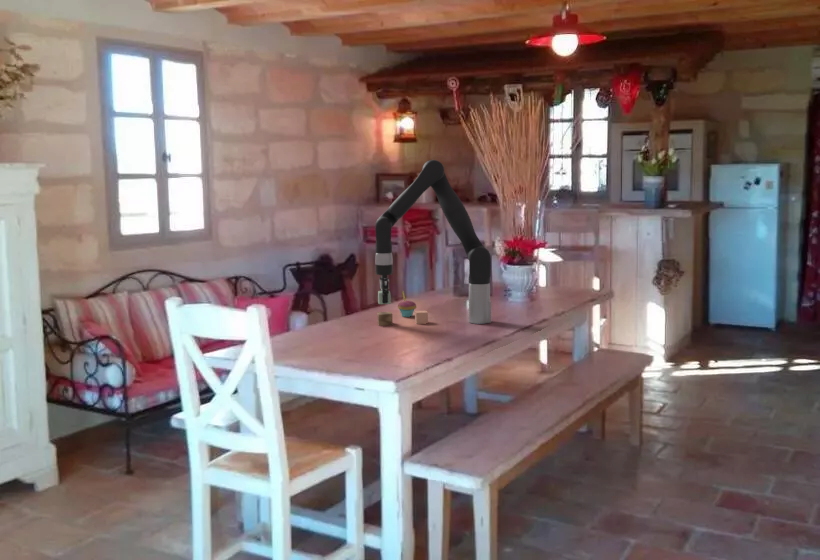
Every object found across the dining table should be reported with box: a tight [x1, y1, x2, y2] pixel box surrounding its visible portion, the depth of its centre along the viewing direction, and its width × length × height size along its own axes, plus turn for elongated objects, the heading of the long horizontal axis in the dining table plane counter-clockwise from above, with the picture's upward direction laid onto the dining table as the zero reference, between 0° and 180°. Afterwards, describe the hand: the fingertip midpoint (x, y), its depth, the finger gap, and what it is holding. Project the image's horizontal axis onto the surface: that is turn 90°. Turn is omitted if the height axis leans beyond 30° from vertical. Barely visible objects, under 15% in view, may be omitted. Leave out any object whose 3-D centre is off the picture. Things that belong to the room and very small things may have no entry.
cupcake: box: [397, 291, 417, 318], centre depth 393 cm, size 9×8×12 cm
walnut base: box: [377, 311, 394, 327], centre depth 375 cm, size 6×6×5 cm
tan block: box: [414, 310, 429, 325], centre depth 377 cm, size 5×5×5 cm
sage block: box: [377, 290, 392, 305], centre depth 373 cm, size 5×5×5 cm
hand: (384, 302), depth 374 cm, fingers closed on sage block, 5 cm apart
